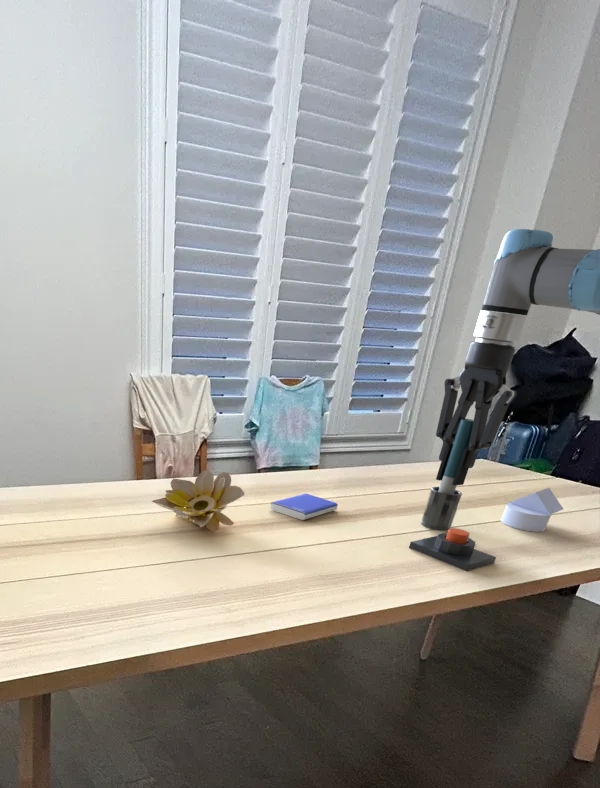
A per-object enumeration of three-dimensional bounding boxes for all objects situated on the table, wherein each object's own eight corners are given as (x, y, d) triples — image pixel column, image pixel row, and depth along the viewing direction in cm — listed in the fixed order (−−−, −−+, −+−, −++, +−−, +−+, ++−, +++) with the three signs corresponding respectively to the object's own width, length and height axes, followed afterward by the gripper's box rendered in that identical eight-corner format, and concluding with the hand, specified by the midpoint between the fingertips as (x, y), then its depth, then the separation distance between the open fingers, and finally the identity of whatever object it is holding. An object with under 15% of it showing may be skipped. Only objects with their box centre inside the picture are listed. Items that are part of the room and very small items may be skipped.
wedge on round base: (516, 512, 143) (494, 521, 135) (528, 482, 140) (506, 489, 131) (557, 524, 139) (536, 534, 130) (570, 493, 135) (550, 501, 127)
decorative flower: (136, 504, 113) (152, 447, 108) (178, 511, 121) (195, 457, 117) (193, 536, 105) (212, 476, 101) (234, 541, 114) (254, 485, 109)
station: (494, 563, 112) (500, 547, 110) (466, 571, 107) (472, 554, 105) (436, 541, 119) (441, 525, 118) (408, 548, 114) (413, 531, 113)
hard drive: (305, 512, 121) (338, 503, 129) (270, 501, 125) (304, 492, 133) (303, 520, 122) (336, 510, 130) (269, 509, 126) (303, 500, 134)
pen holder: (455, 528, 128) (467, 493, 124) (439, 532, 124) (451, 496, 120) (431, 520, 131) (442, 485, 127) (415, 523, 128) (425, 488, 124)
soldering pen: (455, 498, 124) (480, 421, 116) (446, 500, 123) (472, 422, 115) (442, 494, 126) (466, 418, 118) (433, 495, 125) (457, 418, 117)
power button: (470, 543, 112) (473, 533, 111) (459, 546, 110) (462, 536, 109) (452, 536, 114) (455, 527, 113) (441, 539, 112) (444, 529, 111)
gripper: (442, 335, 112) (404, 472, 126) (526, 348, 103) (475, 495, 116) (465, 337, 116) (425, 469, 130) (548, 350, 107) (496, 491, 120)
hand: (449, 481), depth 123 cm, fingers closed on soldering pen, 3 cm apart
